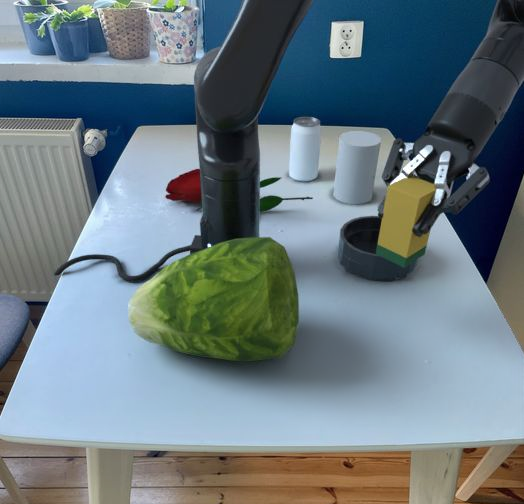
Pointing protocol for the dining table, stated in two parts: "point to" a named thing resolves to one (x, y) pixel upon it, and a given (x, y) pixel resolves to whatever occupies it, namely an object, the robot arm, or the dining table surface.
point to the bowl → (367, 251)
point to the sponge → (404, 221)
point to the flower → (190, 190)
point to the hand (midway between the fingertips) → (399, 225)
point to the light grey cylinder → (356, 166)
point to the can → (305, 149)
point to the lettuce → (222, 302)
